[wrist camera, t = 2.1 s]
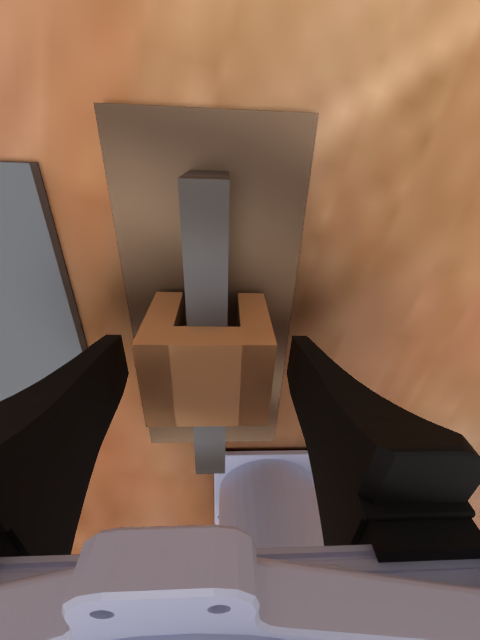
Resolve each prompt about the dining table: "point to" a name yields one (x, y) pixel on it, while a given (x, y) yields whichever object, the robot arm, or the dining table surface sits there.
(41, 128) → the dining table surface
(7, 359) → the mat
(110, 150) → the stand
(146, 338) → the u-shaped block
